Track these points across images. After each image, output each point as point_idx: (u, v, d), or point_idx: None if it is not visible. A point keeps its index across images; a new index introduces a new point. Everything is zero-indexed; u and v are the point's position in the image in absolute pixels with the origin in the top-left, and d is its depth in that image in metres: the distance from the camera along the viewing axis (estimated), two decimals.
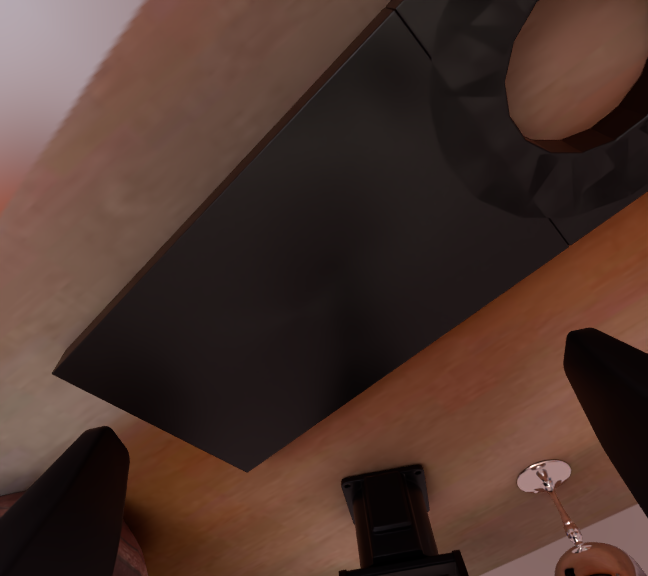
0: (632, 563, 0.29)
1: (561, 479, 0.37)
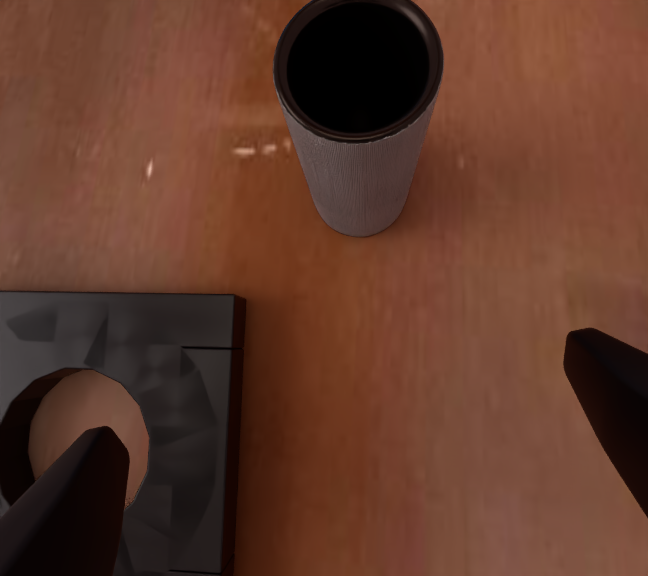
0: None
1: None
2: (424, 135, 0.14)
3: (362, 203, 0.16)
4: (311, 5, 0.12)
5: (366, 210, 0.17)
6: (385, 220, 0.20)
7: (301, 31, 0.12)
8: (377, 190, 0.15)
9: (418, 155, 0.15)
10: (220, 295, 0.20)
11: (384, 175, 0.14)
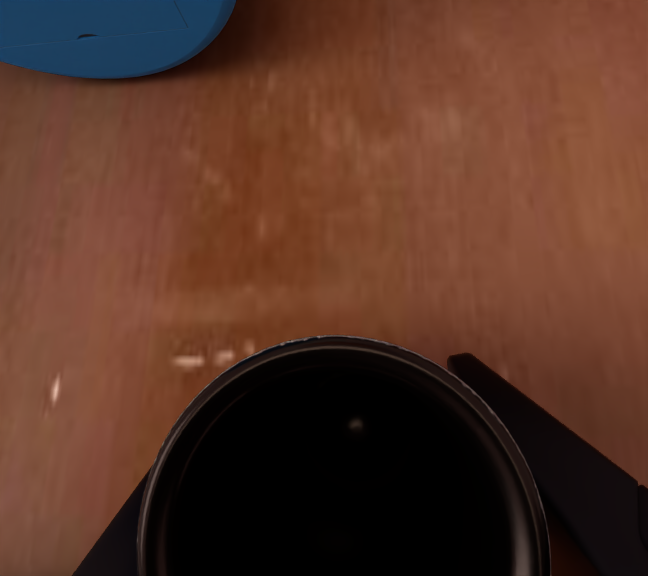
0: None
1: None
2: None
3: None
4: (221, 389, 0.05)
5: None
6: None
7: (203, 443, 0.05)
8: None
9: None
10: None
11: None
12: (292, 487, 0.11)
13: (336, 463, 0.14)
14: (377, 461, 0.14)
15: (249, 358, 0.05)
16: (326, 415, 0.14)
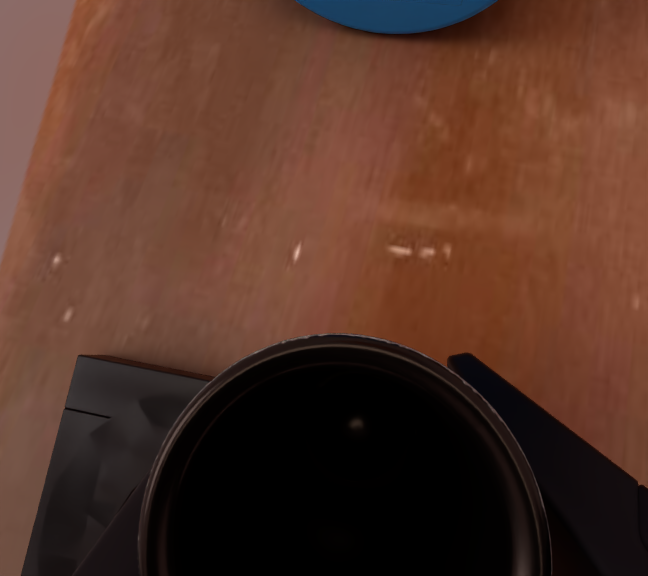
0: None
1: None
2: None
3: None
4: (222, 387, 0.05)
5: None
6: None
7: (204, 442, 0.05)
8: None
9: None
10: None
11: None
12: (292, 486, 0.11)
13: (336, 462, 0.14)
14: (377, 461, 0.14)
15: (251, 356, 0.05)
16: (326, 414, 0.14)
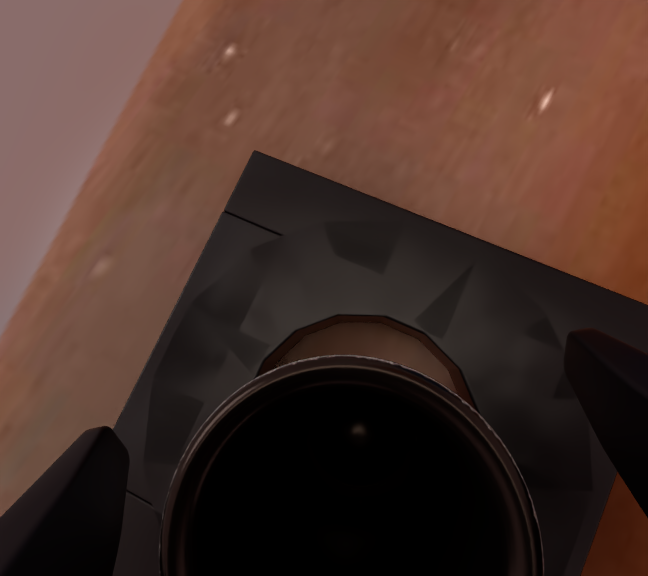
0: None
1: None
2: None
3: None
4: (237, 405, 0.06)
5: None
6: None
7: (220, 456, 0.06)
8: None
9: None
10: None
11: None
12: (298, 492, 0.11)
13: (339, 468, 0.14)
14: (379, 466, 0.14)
15: (264, 376, 0.06)
16: (329, 421, 0.14)
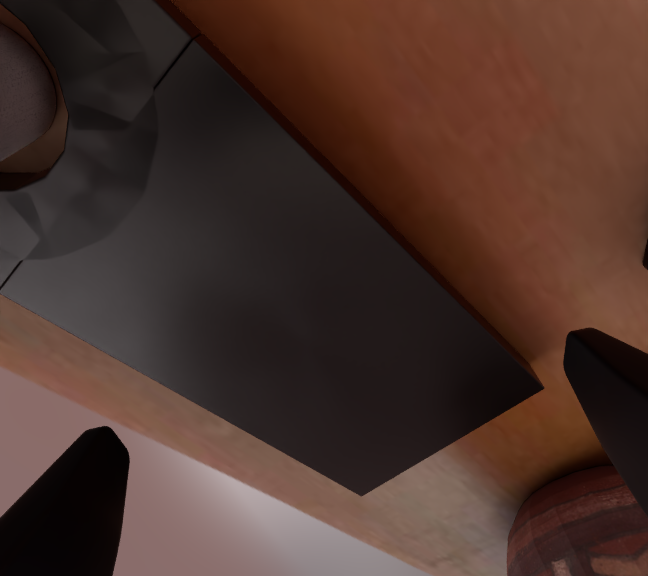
0: None
1: None
2: None
3: None
4: None
5: None
6: (25, 77, 0.15)
7: None
8: None
9: None
10: None
11: None
12: None
13: None
14: None
15: None
16: None
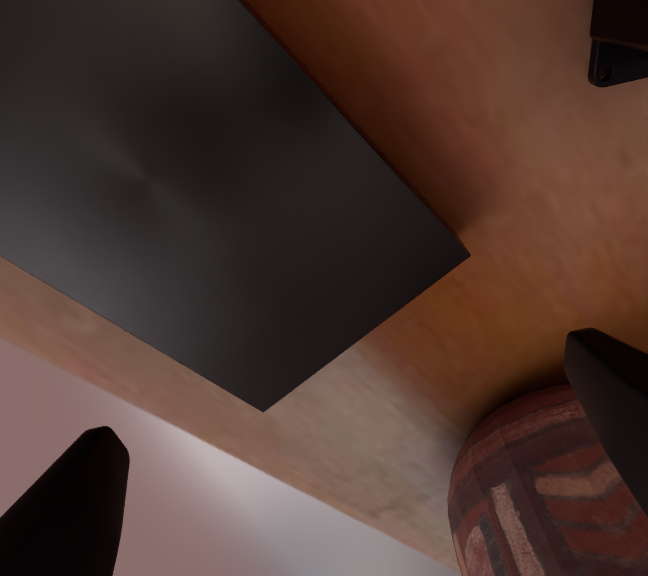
0: None
1: None
2: None
3: None
4: None
5: None
6: None
7: None
8: None
9: None
10: None
11: None
12: None
13: None
14: None
15: None
16: None
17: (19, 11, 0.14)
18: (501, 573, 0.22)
